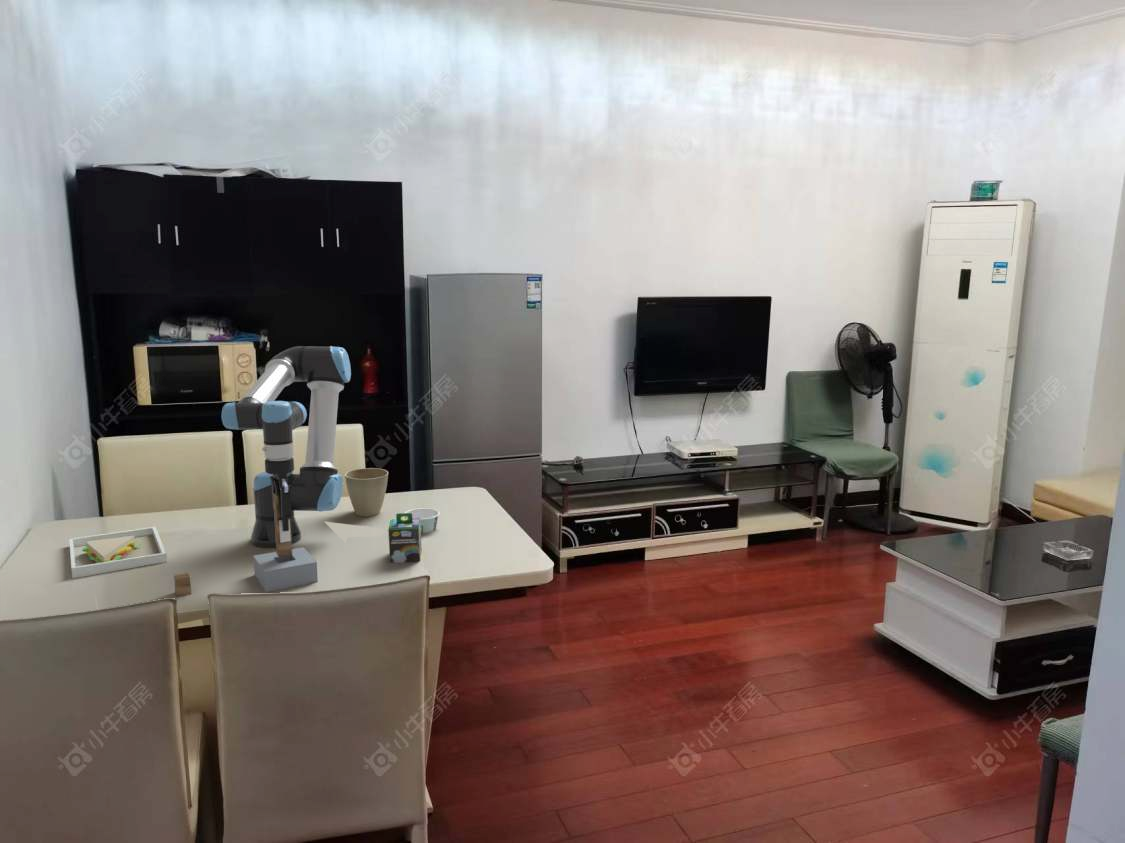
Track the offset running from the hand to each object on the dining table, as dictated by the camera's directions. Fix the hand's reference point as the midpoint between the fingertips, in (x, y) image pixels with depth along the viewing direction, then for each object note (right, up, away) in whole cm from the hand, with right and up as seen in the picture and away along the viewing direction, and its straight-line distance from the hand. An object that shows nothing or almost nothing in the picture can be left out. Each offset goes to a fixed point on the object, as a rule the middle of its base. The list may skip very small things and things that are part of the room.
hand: (283, 539), depth 222 cm
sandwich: (-58, -9, +15) cm, 61 cm away
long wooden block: (0, -5, +1) cm, 5 cm away
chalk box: (+30, -9, +19) cm, 37 cm away
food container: (+31, -4, +44) cm, 54 cm away
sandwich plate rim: (-57, -8, +19) cm, 61 cm away
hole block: (0, -12, +2) cm, 12 cm away
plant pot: (+9, -1, +59) cm, 60 cm away
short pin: (-24, -13, -8) cm, 29 cm away
